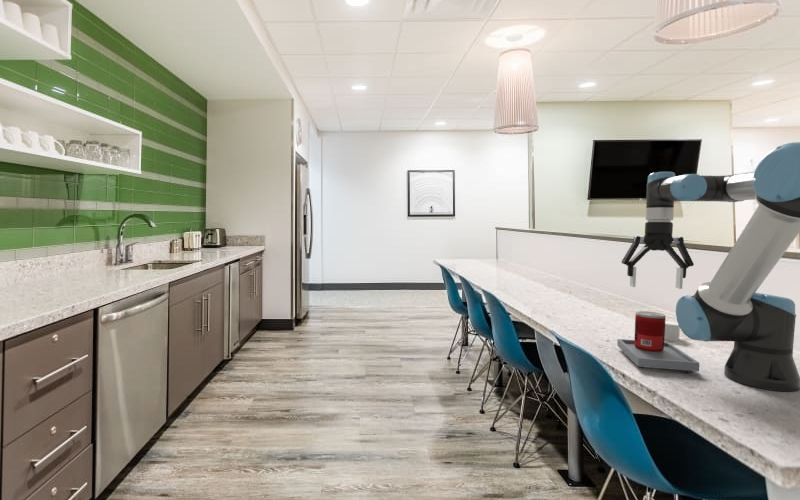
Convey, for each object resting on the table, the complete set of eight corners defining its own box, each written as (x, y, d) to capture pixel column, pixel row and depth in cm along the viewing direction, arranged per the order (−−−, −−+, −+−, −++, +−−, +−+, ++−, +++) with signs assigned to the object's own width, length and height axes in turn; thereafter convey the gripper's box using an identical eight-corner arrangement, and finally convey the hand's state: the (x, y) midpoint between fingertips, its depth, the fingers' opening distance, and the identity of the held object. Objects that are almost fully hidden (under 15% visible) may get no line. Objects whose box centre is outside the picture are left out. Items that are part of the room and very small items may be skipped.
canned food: (669, 352, 125) (671, 316, 124) (642, 351, 125) (644, 316, 124) (654, 345, 132) (656, 311, 132) (629, 344, 133) (630, 310, 132)
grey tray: (617, 349, 136) (617, 338, 136) (668, 353, 133) (668, 342, 132) (637, 370, 116) (638, 358, 116) (698, 375, 112) (699, 362, 112)
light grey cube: (657, 339, 150) (658, 322, 150) (660, 336, 155) (660, 320, 154) (677, 342, 146) (678, 325, 146) (679, 338, 151) (680, 322, 151)
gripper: (696, 221, 133) (692, 287, 135) (613, 221, 138) (610, 284, 139) (709, 221, 126) (705, 290, 127) (620, 220, 131) (617, 287, 132)
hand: (655, 287), depth 133 cm, fingers open, 13 cm apart
